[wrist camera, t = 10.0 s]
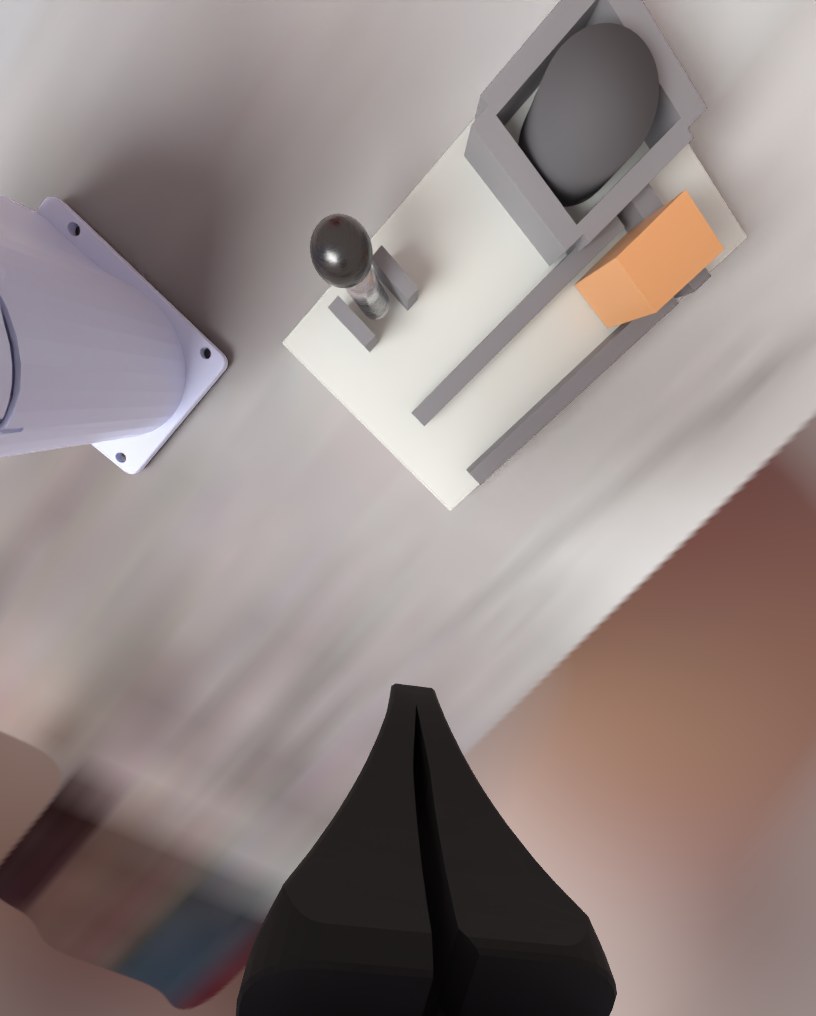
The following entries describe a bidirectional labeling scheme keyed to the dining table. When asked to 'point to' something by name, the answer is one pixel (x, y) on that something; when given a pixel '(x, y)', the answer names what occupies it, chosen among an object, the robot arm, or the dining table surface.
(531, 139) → the button
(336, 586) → the dining table surface
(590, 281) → the orange flat-faced block
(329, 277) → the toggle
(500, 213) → the panel
